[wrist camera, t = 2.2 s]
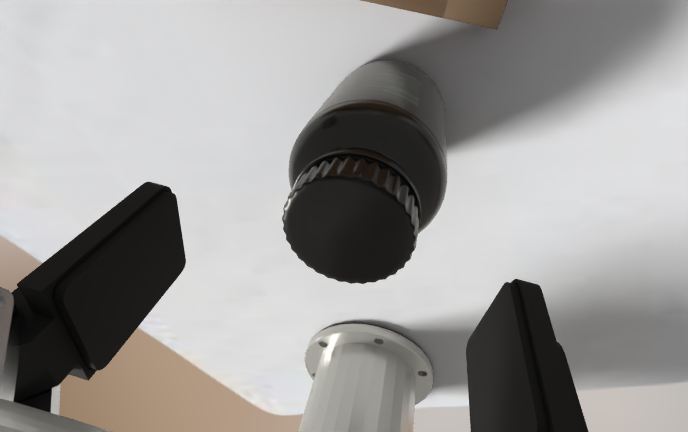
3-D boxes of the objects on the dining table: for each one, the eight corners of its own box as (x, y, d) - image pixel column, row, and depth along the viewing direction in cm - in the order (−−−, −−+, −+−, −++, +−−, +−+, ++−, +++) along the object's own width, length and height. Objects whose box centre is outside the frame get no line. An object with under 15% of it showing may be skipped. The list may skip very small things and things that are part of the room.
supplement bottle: (421, 180, 24) (410, 324, 15) (323, 150, 25) (248, 272, 15) (464, 76, 20) (486, 181, 11) (345, 42, 21) (262, 114, 11)
